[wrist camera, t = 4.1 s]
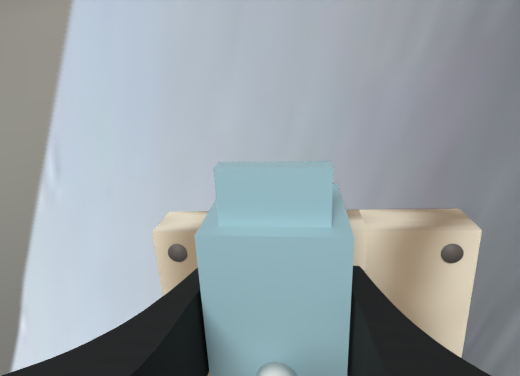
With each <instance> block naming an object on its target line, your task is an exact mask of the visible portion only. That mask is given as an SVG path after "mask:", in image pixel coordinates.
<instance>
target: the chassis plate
mask: <svg viewBox="0 0 520 376" xmlns="http://www.w3.org/2000/svg"><path fill="white" fill-rule="evenodd" d="M208 212H209V211H207V212H169V213H168V214H167V215H166V216H165V217H164V219H163V220H162V221H161V222H160V223H159V224H158V226H157V227H156V228H155V229H154V230H153V231H152V234H153V240H154V246H155V252H156V257H157V263H158V269H159V275H160V281H161V287H162V293H163V296H164V295H165V294H167V293H168V292H169V291H170V290H172V289H173V288H174V287H175V286H176V285H178V284H179V283H180V282H181V281H182V280H184V279H185V278H186V277H187V276H188V275H189V274H191V273H192V272H193V271H194V270H195V269H196V268H198V264H197V255H196V246H195V237H194V235H195V234H196V232H197V230H198V229H199V227H200V225H201V224H202V222H203V220H204V219H205V217H206V215H207V214H208ZM346 212H347V215H348V218H349V222H350V225H351V228H352V231H353V235H354V255H353V266H360V267H361V268H362V269H363V270H364V272H365V273H366V274H367V275H368V277H369V278H370V279H371V280H372V281H373V282H374V284H375V285H376V286H377V287H378V288H379V289H380V290H381V292H382V293H383V294H384V295H385V296H386V297H387V298H388V299H389V300H390V301H391V302H392V303H393V304H394V305H395V306H396V307H397V308H398V309H399V310H400V311H401V312H402V313H403V314H404V315H405V316H406V317H407V318H408V319H409V320H411V321H412V322H413V323H414V324H415V325H416V326H418V327H419V328H420V329H421V330H423V331H424V332H425V333H426V334H428V335H429V336H430V337H432V338H433V339H434V340H436V341H437V342H438V343H440V344H441V345H442V346H444V347H445V348H447V349H448V350H450V351H451V352H453V353H454V354H456V355H457V356H459V357H460V358H461V357H462V351H463V344H464V338H465V332H466V326H467V320H468V313H469V307H470V301H471V295H472V289H473V282H474V276H475V270H476V264H477V258H478V252H479V245H480V239H481V233H482V230H481V229H480V228H479V227H478V226H477V225H476V224H475V223H474V222H473V221H472V220H470V219H469V218H468V217H467V216H466V215H465V214H464V213H463V212H462V211H461V210H460V209H383V210H346ZM208 376H210V373H208ZM347 376H348V373H347Z"/></svg>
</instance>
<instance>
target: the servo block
mask: <svg viewBox="0 0 520 376" xmlns="http://www.w3.org/2000/svg"><path fill="white" fill-rule="evenodd" d="M214 178H215V190H216V200H215V202H214V204H213V205H212V207H211V209H210V210H209V212H208V214H207V215H206V217H205V219H204V220H203V222H202V224H201V225H200V227H199V229H198V230H197V232H196V234H195V235H194V237H195V246H196V255H197V264H198V273H199V282H200V291H201V300H202V309H203V318H204V327H205V336H206V345H207V354H208V364H209V373H210V376H347V369H348V350H349V331H350V312H351V293H352V274H353V255H354V235H353V231H352V228H351V225H350V222H349V218H348V215H347V212H346V208H345V205H344V202H343V198H342V195H341V192H340V188H339V185H338V184H333V165H332V162H331V161H307V162H219V163H218V164H217V165H216V166H215V168H214Z"/></svg>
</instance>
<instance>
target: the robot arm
mask: <svg viewBox="0 0 520 376" xmlns="http://www.w3.org/2000/svg"><path fill="white" fill-rule="evenodd" d="M208 373H209V364H208V354H207V345H206V336H205V327H204V318H203V309H202V300H201V291H200V282H199V273H198V268H196V269H195V270H194V271H193V272H192V273H191V274H189V275H188V276H187V277H186V278H185V279H184V280H182V281H181V282H180V283H179V284H178V285H176V286H175V287H174V288H173V289H172V290H170V291H169V292H168V293H167V294H165V295H164V296H163V297H161V298H160V299H159V300H157V301H156V302H155V303H153V304H152V305H151V306H149V307H148V308H147V309H145V310H144V311H142V312H141V313H139V314H138V315H136V316H135V317H133V318H132V319H130V320H128V321H127V322H125V323H123V324H122V325H120V326H118V327H117V328H115V329H113V330H111V331H109V332H107V333H105V334H103V335H101V336H99V337H97V338H96V339H94V340H92V341H90V342H88V343H86V344H84V345H81V346H79V347H77V348H75V349H72V350H70V351H68V352H65V353H63V354H61V355H58V356H56V357H53V358H51V359H48V360H45V361H43V362H40V363H37V364H34V365H31V366H28V367H26V368H23V369H20V370H17V371H14V372H11V373H8V374H5V375H2V376H208ZM347 373H348V376H491V375H489V374H487V373H485V372H483V371H482V370H480V369H478V368H477V367H475V366H473V365H472V364H470V363H468V362H467V361H465V360H463V359H462V358H460V357H459V356H457V355H456V354H454V353H453V352H451V351H450V350H448V349H447V348H445V347H444V346H442V345H441V344H440V343H438V342H437V341H436V340H434V339H433V338H432V337H430V336H429V335H428V334H426V333H425V332H424V331H423V330H421V329H420V328H419V327H418V326H416V325H415V324H414V323H413V322H412V321H411V320H409V319H408V318H407V317H406V316H405V315H404V314H403V313H402V312H401V311H400V310H399V309H398V308H397V307H396V306H395V305H394V304H393V303H392V302H391V301H390V300H389V299H388V298H387V297H386V296H385V295H384V294H383V293H382V292H381V290H380V289H379V288H378V287H377V286H376V285H375V284H374V282H373V281H372V280H371V279H370V278H369V277H368V275H367V274H366V273H365V272H364V270H363V269H362V268H361V267H360V266H353V274H352V293H351V312H350V331H349V350H348V369H347Z"/></svg>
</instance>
